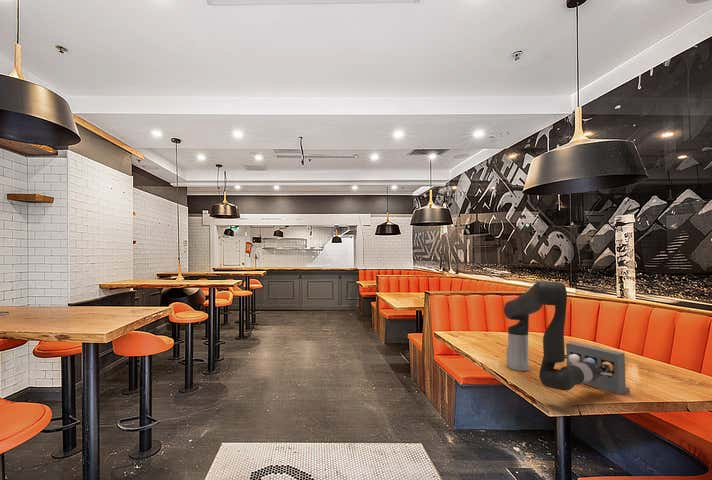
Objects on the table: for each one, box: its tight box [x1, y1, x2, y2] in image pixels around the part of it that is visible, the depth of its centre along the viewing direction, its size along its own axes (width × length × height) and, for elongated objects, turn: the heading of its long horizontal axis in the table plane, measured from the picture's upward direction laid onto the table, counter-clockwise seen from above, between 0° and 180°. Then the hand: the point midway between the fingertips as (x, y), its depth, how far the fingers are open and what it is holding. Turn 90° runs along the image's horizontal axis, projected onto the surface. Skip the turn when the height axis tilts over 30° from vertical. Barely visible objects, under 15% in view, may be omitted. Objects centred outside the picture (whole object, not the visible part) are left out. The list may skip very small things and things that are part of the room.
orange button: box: [602, 361, 614, 371], centre depth 143 cm, size 4×3×4 cm
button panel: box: [565, 341, 631, 396], centre depth 150 cm, size 21×8×16 cm, turn 27°
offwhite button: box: [569, 354, 581, 364], centre depth 154 cm, size 4×3×4 cm
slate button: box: [584, 357, 597, 364], centre depth 149 cm, size 4×3×4 cm
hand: (606, 366), depth 143 cm, fingers closed
